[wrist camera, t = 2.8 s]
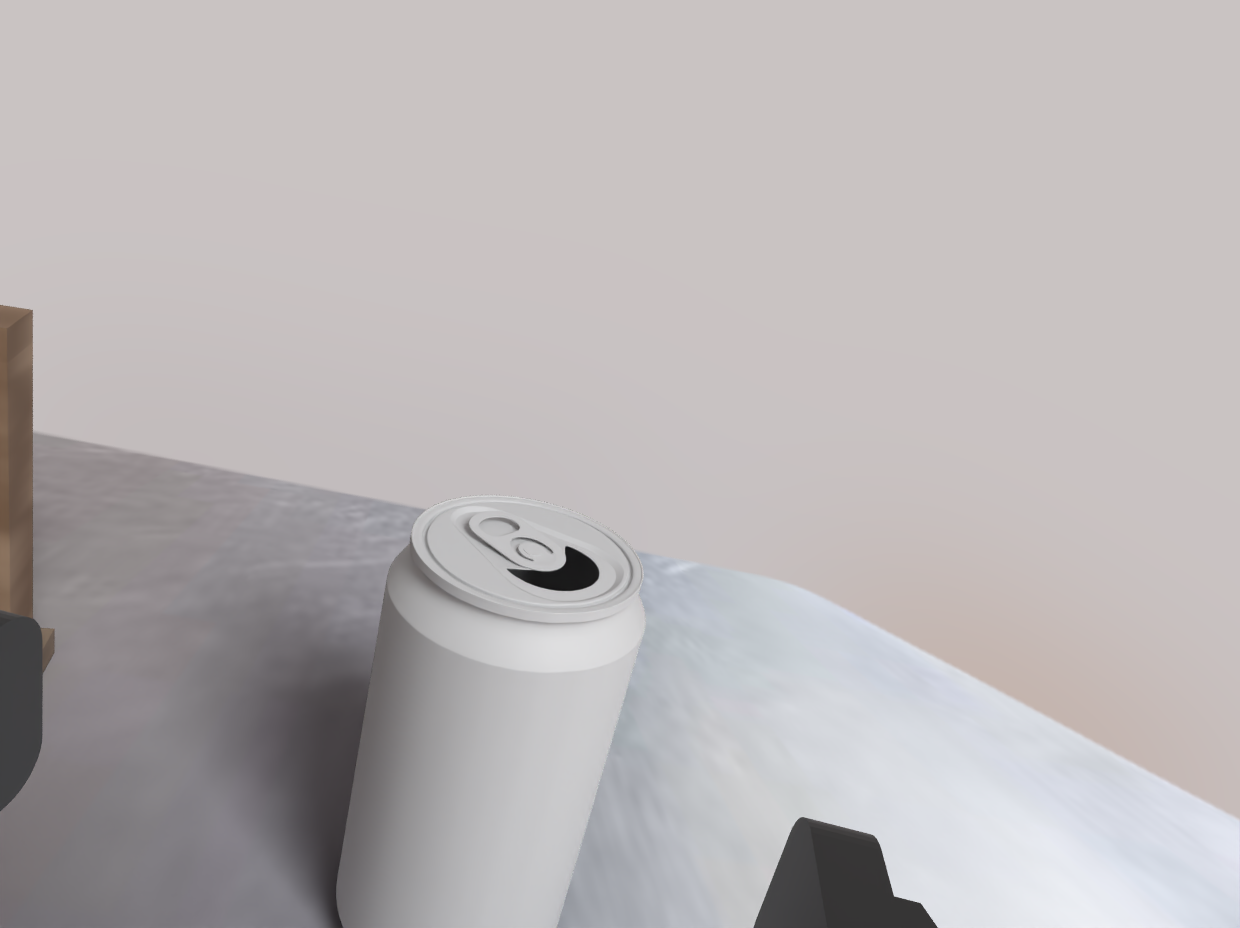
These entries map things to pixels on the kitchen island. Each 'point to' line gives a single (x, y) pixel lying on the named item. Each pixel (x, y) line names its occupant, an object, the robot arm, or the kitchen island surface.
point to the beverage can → (488, 715)
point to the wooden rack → (17, 468)
